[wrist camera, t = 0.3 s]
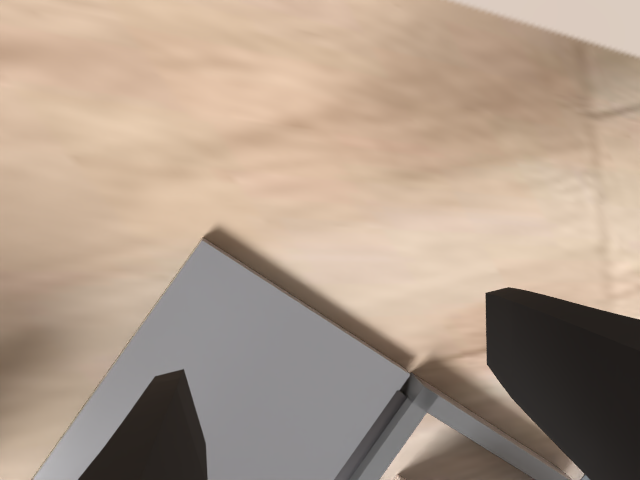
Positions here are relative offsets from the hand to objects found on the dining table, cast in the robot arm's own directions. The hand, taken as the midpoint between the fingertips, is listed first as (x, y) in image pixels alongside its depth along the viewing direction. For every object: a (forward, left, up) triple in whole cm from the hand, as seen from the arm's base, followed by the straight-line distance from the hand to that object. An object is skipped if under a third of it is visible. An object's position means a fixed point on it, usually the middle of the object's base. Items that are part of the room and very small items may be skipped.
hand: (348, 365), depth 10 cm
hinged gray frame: (-8, -9, -11) cm, 16 cm away
